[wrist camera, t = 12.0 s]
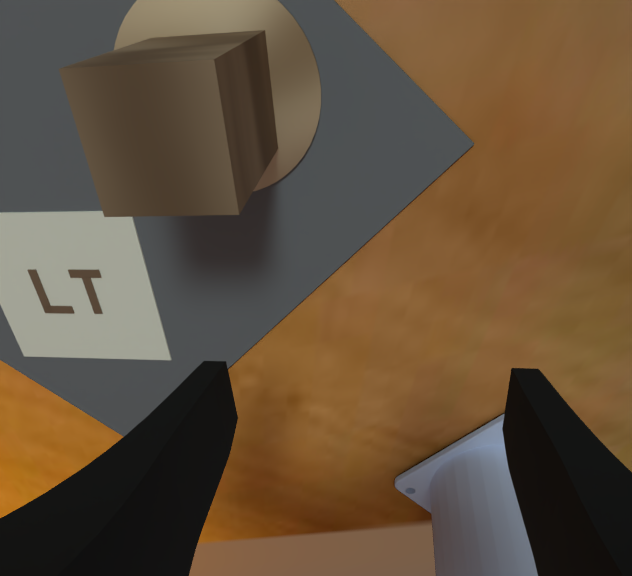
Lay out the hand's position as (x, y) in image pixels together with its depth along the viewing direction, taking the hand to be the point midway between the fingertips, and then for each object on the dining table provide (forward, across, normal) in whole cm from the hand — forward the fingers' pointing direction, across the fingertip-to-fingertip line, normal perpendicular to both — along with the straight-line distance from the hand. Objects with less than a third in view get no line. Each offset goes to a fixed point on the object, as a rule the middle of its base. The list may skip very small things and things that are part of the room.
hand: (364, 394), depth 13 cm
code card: (+9, +14, +3) cm, 17 cm away
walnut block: (+9, +6, -6) cm, 12 cm away
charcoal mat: (+9, +11, -1) cm, 14 cm away
